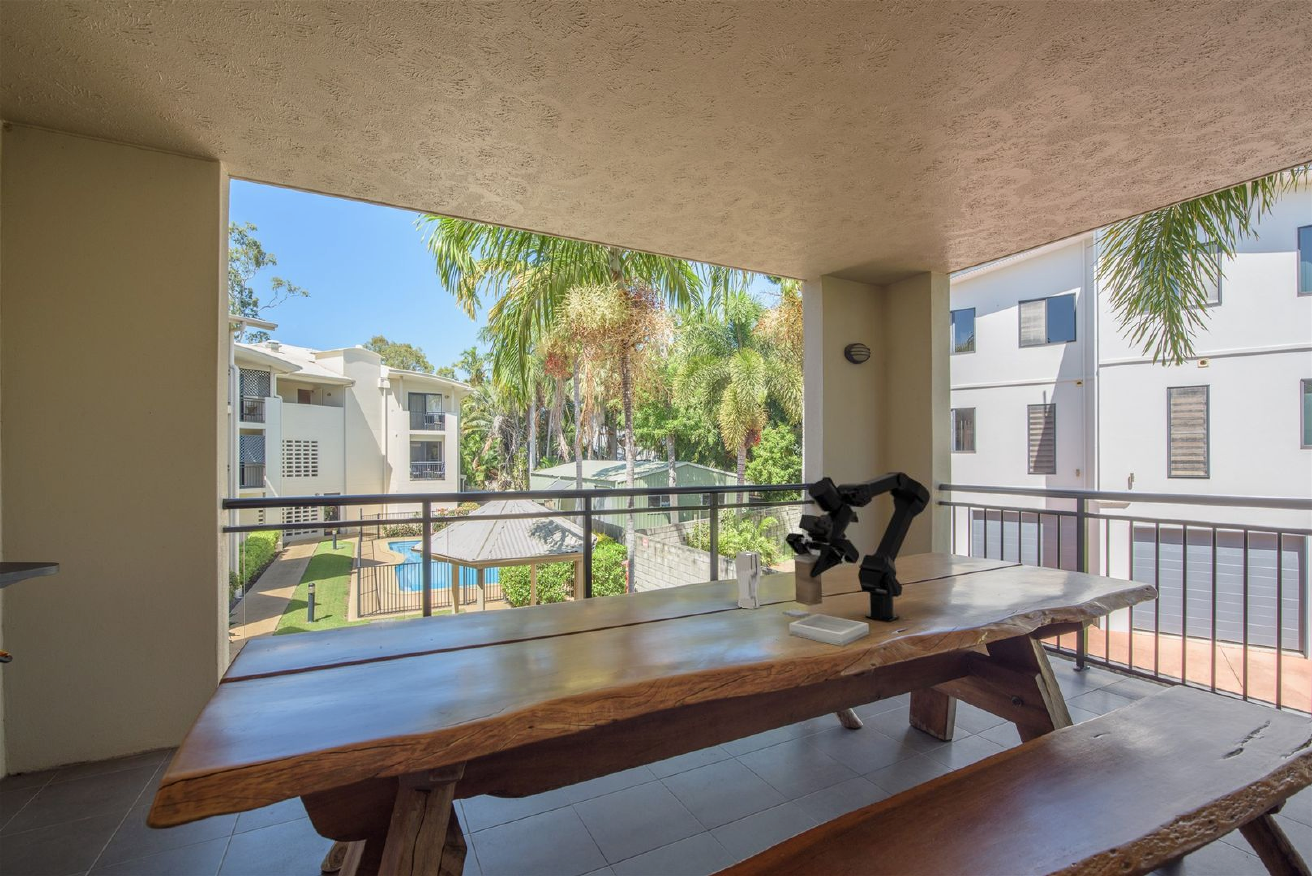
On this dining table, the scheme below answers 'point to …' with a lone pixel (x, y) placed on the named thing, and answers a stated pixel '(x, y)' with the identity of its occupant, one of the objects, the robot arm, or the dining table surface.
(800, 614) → the slate tile
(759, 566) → the beer glass
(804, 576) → the brown rectangular block
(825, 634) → the tray
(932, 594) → the dining table surface
